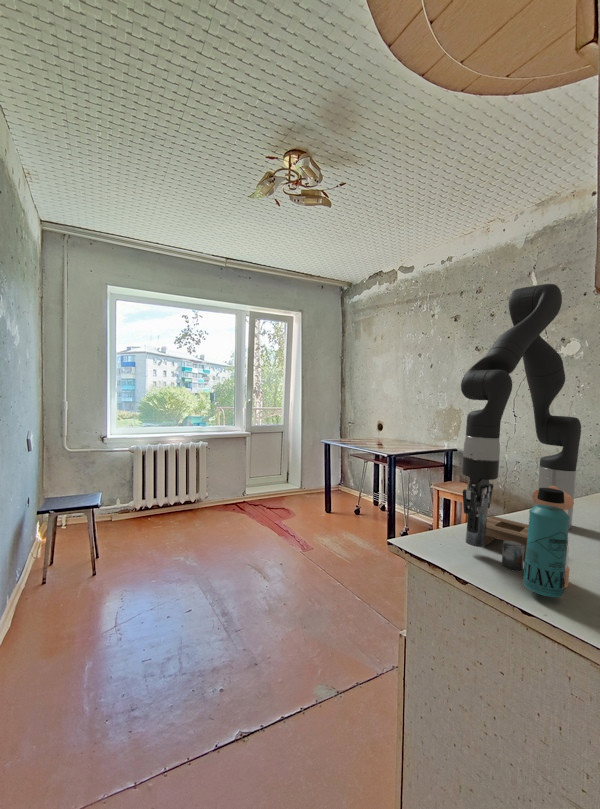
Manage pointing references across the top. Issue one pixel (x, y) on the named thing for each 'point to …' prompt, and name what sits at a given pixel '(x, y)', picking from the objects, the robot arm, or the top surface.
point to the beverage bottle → (547, 545)
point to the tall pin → (479, 537)
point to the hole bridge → (506, 531)
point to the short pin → (513, 555)
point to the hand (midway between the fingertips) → (475, 529)
